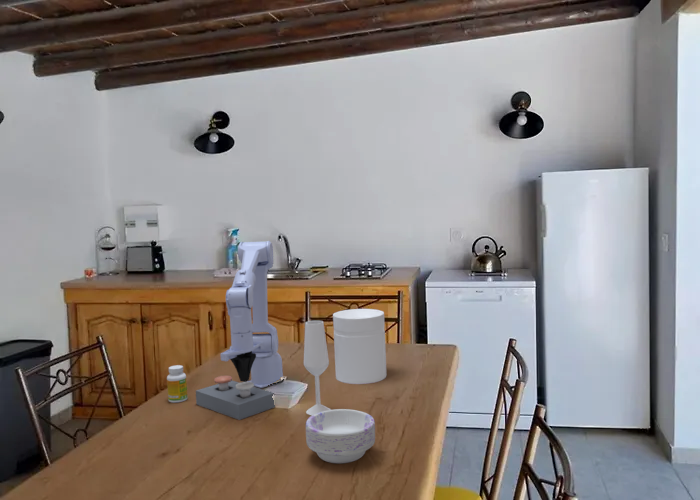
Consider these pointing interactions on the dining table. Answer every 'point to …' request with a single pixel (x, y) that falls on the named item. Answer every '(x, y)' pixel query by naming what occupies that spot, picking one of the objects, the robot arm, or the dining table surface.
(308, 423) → the paper bowls
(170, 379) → the supplement bottle
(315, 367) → the champagne flute
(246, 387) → the grey plunger
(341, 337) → the canister
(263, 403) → the panel
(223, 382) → the red plunger
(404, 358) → the dining table surface
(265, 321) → the robot arm
